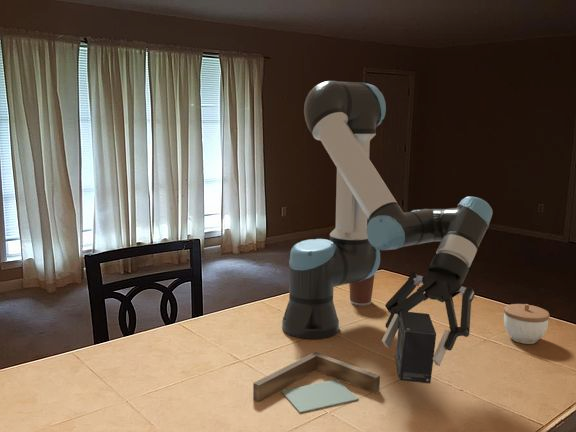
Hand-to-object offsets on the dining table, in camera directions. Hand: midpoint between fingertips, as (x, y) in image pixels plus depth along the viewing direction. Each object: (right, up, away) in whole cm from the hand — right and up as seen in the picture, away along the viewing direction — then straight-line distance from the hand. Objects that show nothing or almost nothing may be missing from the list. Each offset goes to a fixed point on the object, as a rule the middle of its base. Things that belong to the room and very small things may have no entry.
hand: (409, 353), depth 109 cm
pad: (-18, -10, +4) cm, 20 cm away
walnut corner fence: (-18, -10, +4) cm, 21 cm away
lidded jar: (+37, -5, +34) cm, 50 cm away
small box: (+1, -4, +2) cm, 5 cm away
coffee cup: (-2, 0, +61) cm, 61 cm away
